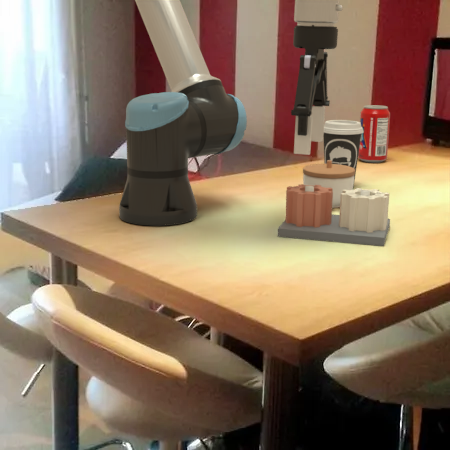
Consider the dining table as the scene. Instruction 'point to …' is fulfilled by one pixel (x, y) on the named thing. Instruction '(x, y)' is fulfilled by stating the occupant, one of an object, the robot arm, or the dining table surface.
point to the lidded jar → (330, 178)
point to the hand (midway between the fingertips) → (309, 147)
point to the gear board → (349, 220)
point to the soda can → (374, 133)
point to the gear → (309, 206)
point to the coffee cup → (342, 142)
